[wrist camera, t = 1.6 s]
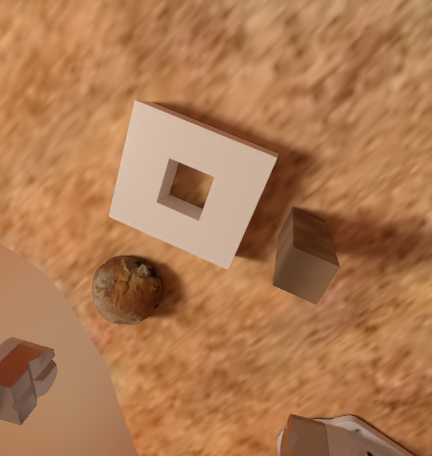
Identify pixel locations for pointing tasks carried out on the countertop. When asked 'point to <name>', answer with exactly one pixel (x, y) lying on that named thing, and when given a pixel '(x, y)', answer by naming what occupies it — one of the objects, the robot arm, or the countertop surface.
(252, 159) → the socket block
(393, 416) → the countertop surface
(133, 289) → the bread roll
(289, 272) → the walnut peg
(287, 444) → the robot arm
